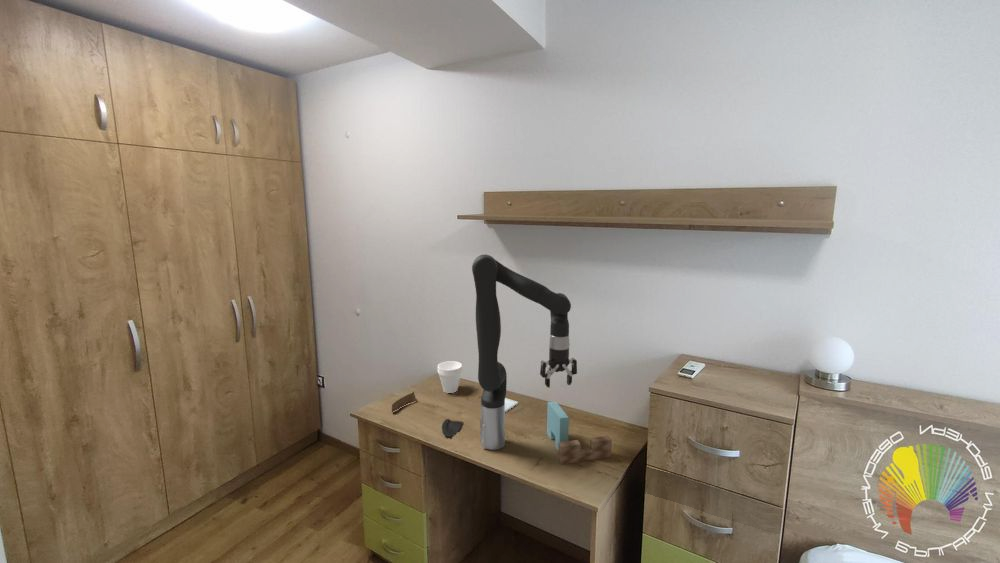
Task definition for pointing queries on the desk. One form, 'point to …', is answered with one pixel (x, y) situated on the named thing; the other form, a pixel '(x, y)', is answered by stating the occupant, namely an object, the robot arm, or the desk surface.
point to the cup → (450, 375)
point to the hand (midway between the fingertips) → (558, 385)
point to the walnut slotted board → (584, 450)
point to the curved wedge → (451, 427)
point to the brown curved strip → (403, 401)
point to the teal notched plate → (557, 423)
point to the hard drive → (509, 404)
